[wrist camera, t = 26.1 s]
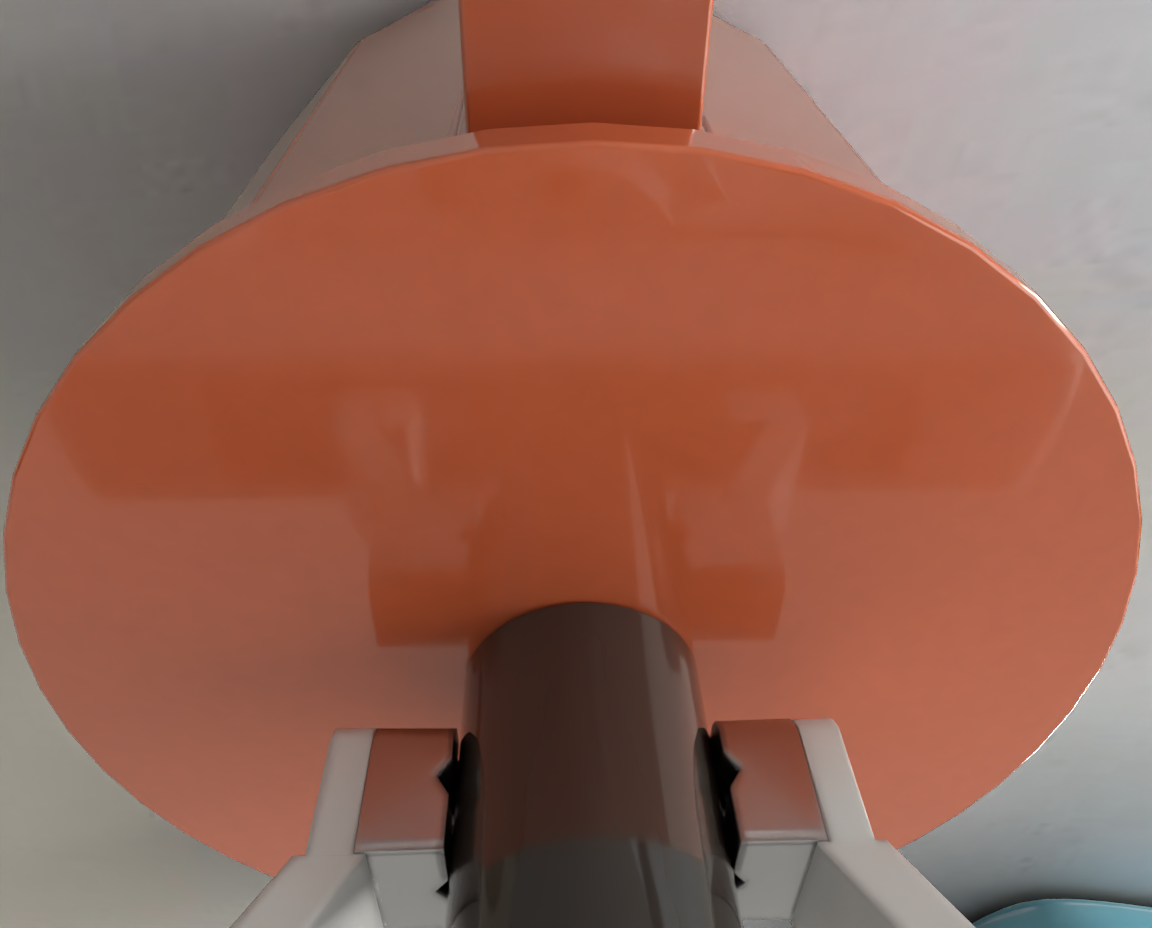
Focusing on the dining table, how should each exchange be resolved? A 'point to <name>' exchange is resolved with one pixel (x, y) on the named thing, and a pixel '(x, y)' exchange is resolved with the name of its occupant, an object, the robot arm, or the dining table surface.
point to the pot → (548, 83)
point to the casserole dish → (1068, 915)
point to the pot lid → (571, 508)
